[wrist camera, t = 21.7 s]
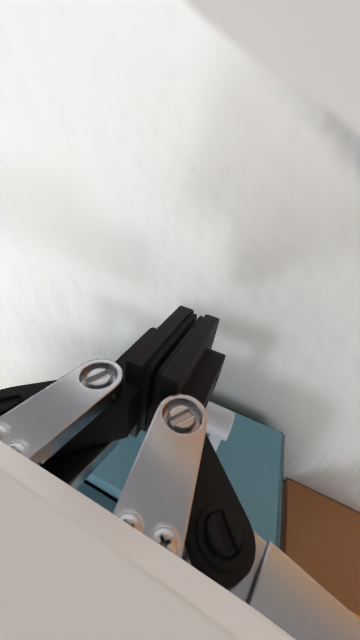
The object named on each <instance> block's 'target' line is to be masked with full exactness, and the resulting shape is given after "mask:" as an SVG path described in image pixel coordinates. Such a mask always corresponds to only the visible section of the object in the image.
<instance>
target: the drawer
mask: <svg viewBox="0 0 360 640" xmlns="http://www.w3.org/2000/svg"><path fill="white" fill-rule="evenodd" d="M206 412H207V415H208V424H207V429H206V434H207V436H208V438H209V440H210V442H211V444H212V446H213V448H214V450H215V452H216V454H217V456H218V458H219V460H220V462H221V464H222V466H223V468H224V470H225V472H226V474H227V477H228V479H229V481H230V483H231V485H232V487H233V489H234V491H235V493H236V495H237V497H238V499H239V501H240V503H241V505H242V507H243V509H244V511H245V513H246V515H247V517H248V519H249V521H250V524H251V527H252V529H253V531H254V532H255V533H256V534H258V535H259V536H260V537H261V538H262V539H263V540H264V541H265V542H267V543H268V542H269V541H271V542H272V543H273V544H274V545H275V539H276V523H277V506H278V489H279V472H280V455H281V438H282V433H281V432H279V431H277V430H275V429H273V428H270V427H268V426H266V425H263V424H261V423H259V422H257V421H254V420H252V419H250V418H247V417H245V416H243V415H241V414H238V413H236V412H234V411H231V410H229V409H227V408H225V407H222V406H220V405H218V404H216V403H213V402H211V401H209V402H208V405H207V407H206ZM145 432H146V431H143V430H141V431H140V432H139V434H138V435H137V437H134V436H132V435H130V434H129V436H128V437H127V438H124V439H120V441H119V443H118V444H117V446H116V447H115V448H114V449H113V451H112V452H111V453H110V454H109V455H108V456H107V457H106V458H105V459H104V460H103V461H102V462H101V463H100V465H99V466H98V467H97V468H96V469H95V470H94V471H93V472H92V473H91V474H90V475H89V476H88V477H87V479H86V480H85V481H84V483H86V484H88V485H89V486H91V487H93V488H94V489H96V490H97V491H99V492H101V493H102V494H104V495H105V496H107V497H109V498H110V499H112V500H114V501H115V502H118V500H119V497H120V495H121V492H122V490H123V488H124V485H125V483H126V481H127V478H128V476H129V474H130V471H131V469H132V467H133V464H134V462H135V460H136V457H137V455H138V452H139V450H140V448H141V445H142V443H143V441H144V438H145Z"/></svg>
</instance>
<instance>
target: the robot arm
mask: <svg viewBox="0 0 360 640" xmlns="http://www.w3.org/2000/svg"><path fill="white" fill-rule="evenodd" d="M193 313H194V311H193V310H192V309H189V308H186V307H183V306H179V307H178V308H177V309H176V310H175V311H174V312H173V313H172V314H171V315H170V316H169V317H168V318H167V319H166V320H165V321H164V322H163V323H162V324H161V325H160V326H159V327H158V328H157V329H156V328H151V329H149V330H148V331H147V332H146V333H145V334H144V335H143V336H142V337H141V338H140V339H139V340H138V341H136V342H135V343H134V344H133V345H132V346H131V347H130V348H129V349H128V350H127V351H126V352H125V353H124V354H123V355H122V356H121V357H120V358H119V359H118V360H116V361H115V362H113V361H111V360H106V359H96V360H92V361H88V362H86V363H84V364H82V365H81V366H79V367H78V368H76V369H75V370H73V371H71V372H70V373H68V374H67V375H65V376H63V377H62V378H60V379H59V380H54V381H47V382H41V383H35V384H28V385H22V386H16V387H9V388H5V389H1V390H0V640H360V620H359V619H358V618H357V617H356V616H355V615H354V614H353V613H352V612H351V611H349V610H348V609H347V608H346V607H345V606H344V605H343V604H342V603H340V602H339V601H338V600H337V599H336V598H335V597H334V596H332V595H331V594H330V593H329V592H328V591H327V590H326V589H324V588H323V587H322V586H321V585H320V584H319V583H318V582H316V581H315V580H314V579H313V578H312V577H311V576H310V575H309V574H307V573H306V572H305V571H304V570H303V569H302V568H301V567H299V566H298V565H297V564H296V563H295V562H294V561H293V560H291V559H290V558H289V557H288V556H287V555H286V554H285V553H283V552H282V551H281V550H280V549H279V548H278V547H277V546H276V545H274V544H273V543H272V542H271V541H269V542H268V543H267V542H265V541H264V540H263V539H262V538H261V537H260V536H259V535H258V534H256V533H255V532H254V531H253V529H252V527H251V524H250V521H249V519H248V517H247V515H246V513H245V511H244V509H243V507H242V505H241V503H240V501H239V499H238V497H237V495H236V493H235V491H234V489H233V487H232V485H231V483H230V481H229V479H228V477H227V474H226V472H225V470H224V468H223V466H222V464H221V462H220V460H219V458H218V456H217V454H216V452H215V450H214V448H213V446H212V444H211V442H210V440H209V438H208V436H207V434H206V429H207V424H208V415H207V412H206V407H207V405H208V402H209V400H210V398H211V395H212V393H213V390H214V388H215V386H216V383H217V380H218V378H219V375H220V372H221V369H222V366H223V363H224V360H225V356H226V355H224V354H221V353H219V352H216V351H213V350H211V348H212V344H213V341H214V337H215V334H216V330H217V326H218V323H219V319H218V318H216V317H213V316H210V315H207V314H206V315H205V316H204V317H202V316H200V317H199V318H198V319H197V315H196V314H193ZM196 319H197V320H196ZM141 430H143V431H146V432H145V438H144V441H143V443H142V445H141V448H140V450H139V452H138V455H137V457H136V460H135V462H134V464H133V467H132V469H131V471H130V474H129V476H128V478H127V481H126V483H125V485H124V488H123V490H122V492H121V495H120V497H119V500H118V502H117V504H116V507H115V509H114V511H113V514H112V513H111V512H109V511H108V510H106V509H105V508H103V507H102V506H100V505H99V504H97V503H96V502H94V501H93V500H91V499H90V498H88V497H86V496H85V495H83V494H82V493H80V492H79V491H77V490H76V489H77V488H78V487H79V486H80V485H81V484H82V483H83V482H84V481H85V480H86V479H87V477H88V476H89V475H90V474H91V473H92V472H93V471H94V470H95V469H96V468H97V467H98V466H99V465H100V463H101V462H102V461H103V460H104V459H105V458H106V457H107V456H108V455H109V454H110V453H111V452H112V451H113V449H114V448H115V447H116V446H117V444H118V443H119V441H120V439H124V438H127V437H128V436H129V434H130V435H132V436H134V437H137V435H138V434H139V432H140V431H141Z"/></svg>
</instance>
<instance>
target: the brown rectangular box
mask: <svg viewBox="0 0 360 640" xmlns="http://www.w3.org/2000/svg"><path fill="white" fill-rule="evenodd" d="M279 549H280V550H281V551H282V552H283V553H285V554H286V555H287V556H288V557H289V558H290V559H291V560H293V561H294V562H295V563H296V564H297V565H298V566H299V567H301V568H302V569H303V570H304V571H305V572H306V573H307V574H309V575H310V576H311V577H312V578H313V579H314V580H315V581H316V582H318V583H319V584H320V585H321V586H322V587H323V588H324V589H326V590H327V591H328V592H329V593H330V594H331V595H332V596H334V597H335V598H336V599H337V600H338V601H339V602H340V603H342V604H343V605H344V606H345V607H346V608H347V609H348V610H349V611H351V612H352V613H353V614H354V615H355V616H356V617H357V618H358V619H359V620H360V513H358V512H356V511H354V510H352V509H350V508H348V507H346V506H344V505H342V504H340V503H338V502H336V501H333V500H331V499H329V498H327V497H325V496H323V495H321V494H319V493H317V492H315V491H313V490H311V489H309V488H307V487H305V486H302V485H300V484H298V483H296V482H294V481H292V480H290V479H287V480H286V481H285V482H284V484H283V485H282V503H281V524H280V545H279Z"/></svg>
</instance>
